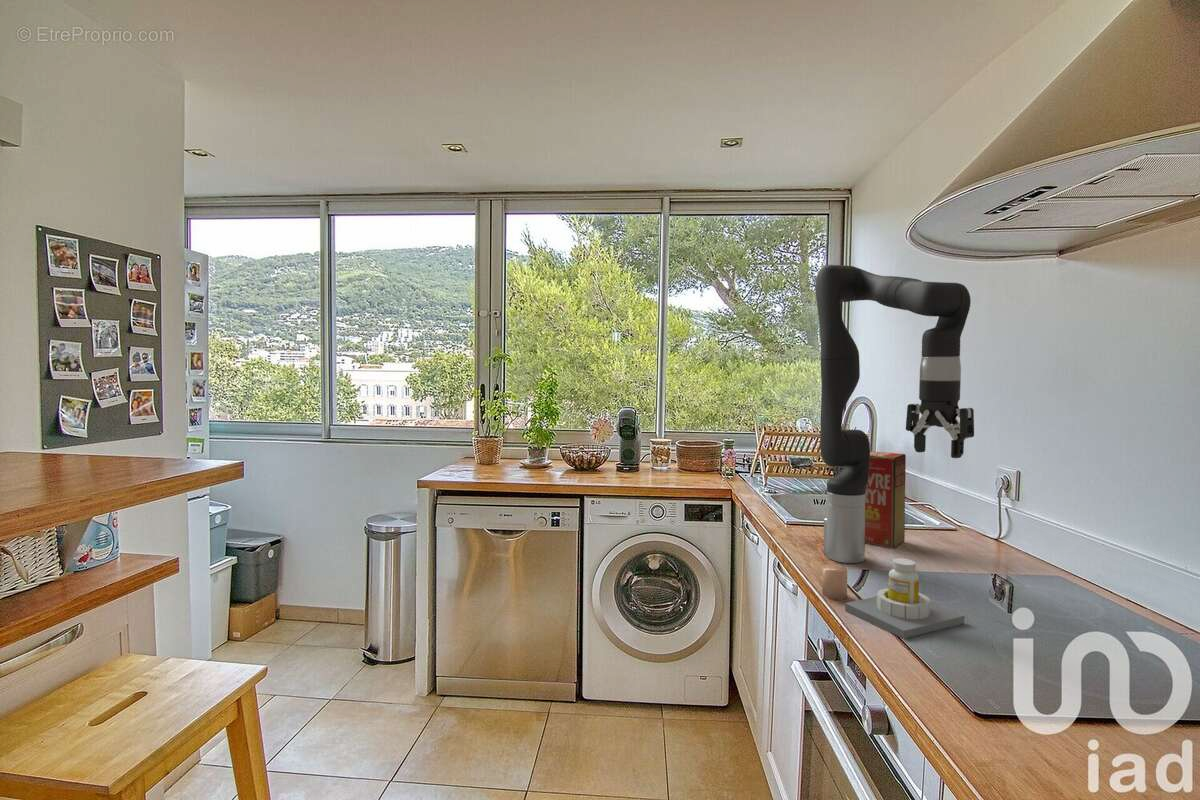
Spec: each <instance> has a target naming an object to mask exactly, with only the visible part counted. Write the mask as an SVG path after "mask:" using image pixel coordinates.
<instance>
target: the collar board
mask: <svg viewBox="0 0 1200 800" xmlns="http://www.w3.org/2000/svg"><path fill="white" fill-rule="evenodd" d="M844 610H845V611H846V612H848V613H850V614H851V615H854V616H856V617H859V618H860V619H862V620H863V621H866V622H869V623H870V624H872V625H874V626H877V627H879V628H880V629H882V630H885V631H887V632H889V633H891V634H893V635H895V636H897V637H898V638H901V637H902V639H903V638H905V639H907V638H906V637H909V638H911V637H910V636H913V637H915V636H914V635H917V636H920V635H919V634H921V635H924V634H923V633H925V634H928V633H927V632H929V633H931V632H930V631H933V630H936V631H939V630H938V629H940V630H944V629H947V627H948V628H951V627H955V626H959V625H963V624H965V615H964V614H961V613H959V612H956V611H954V610H952V609H950V608H946V607H944V606H942V605H940V604H936V603H934V602H931V599H930V598H929V597H928V596H927V595H926V594H923V593H921V592H919V595H918V603H916V604H906V603H900V602H896V601H893V600H890V599H888V587H887V588H882V589H879V590H878V591H877V593H876V596H872V597H868V598H863V599H859V600H858V599H857V600H853V601H849V602H845V603H844ZM943 628H944V629H943ZM933 632H934V631H933Z"/></svg>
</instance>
